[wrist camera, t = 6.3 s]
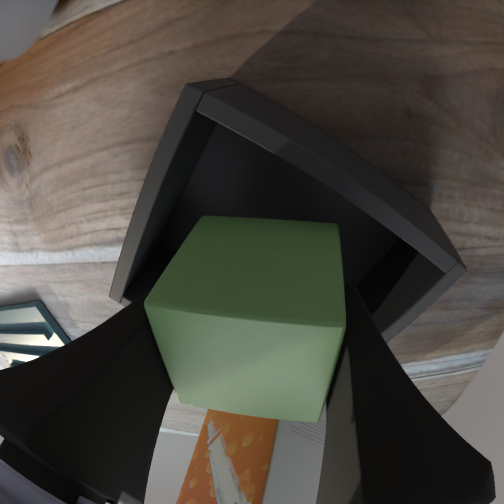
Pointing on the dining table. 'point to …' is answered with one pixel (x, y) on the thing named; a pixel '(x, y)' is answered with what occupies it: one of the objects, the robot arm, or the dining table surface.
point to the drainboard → (28, 332)
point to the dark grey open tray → (283, 200)
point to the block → (252, 316)
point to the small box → (255, 461)
